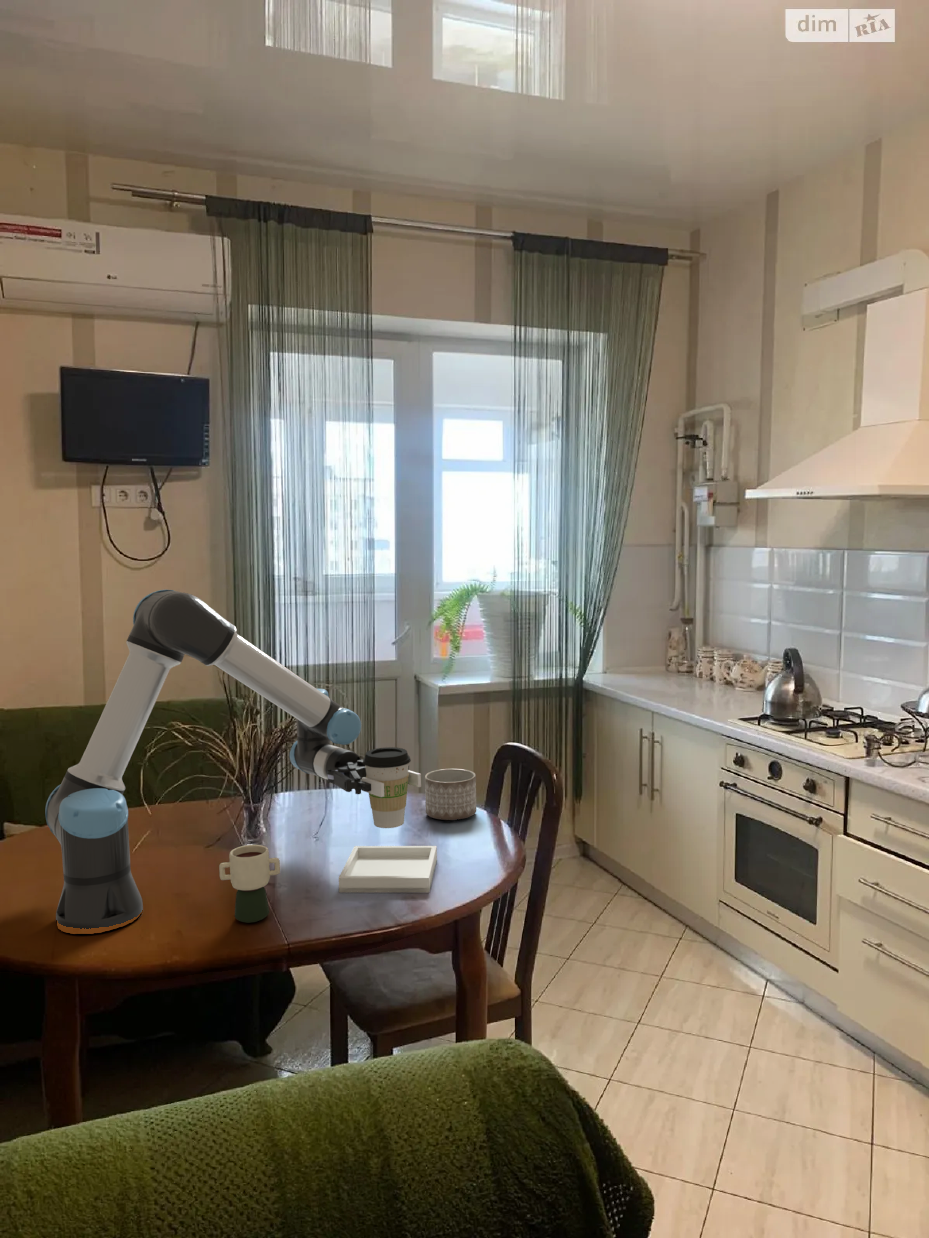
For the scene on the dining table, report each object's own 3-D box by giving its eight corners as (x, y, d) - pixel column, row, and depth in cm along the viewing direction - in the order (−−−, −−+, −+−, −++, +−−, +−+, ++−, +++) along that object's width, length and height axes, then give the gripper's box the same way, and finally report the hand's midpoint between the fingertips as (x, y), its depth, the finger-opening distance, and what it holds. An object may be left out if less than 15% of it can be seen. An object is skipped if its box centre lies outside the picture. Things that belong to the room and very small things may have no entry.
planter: (415, 816, 225) (414, 775, 224) (452, 804, 234) (451, 765, 233) (449, 827, 216) (448, 785, 215) (486, 815, 225) (486, 774, 224)
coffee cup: (379, 834, 179) (376, 761, 177) (356, 821, 187) (354, 751, 186) (421, 824, 184) (419, 753, 183) (398, 812, 192) (395, 744, 191)
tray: (429, 892, 177) (428, 877, 177) (339, 892, 178) (338, 877, 178) (437, 859, 195) (436, 845, 195) (355, 859, 196) (354, 846, 196)
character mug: (281, 907, 172) (278, 841, 170) (282, 923, 165) (279, 854, 164) (223, 913, 170) (219, 847, 168) (220, 929, 163) (217, 860, 161)
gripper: (378, 772, 206) (442, 791, 189) (297, 792, 191) (358, 815, 175) (377, 740, 205) (441, 757, 188) (295, 757, 191) (356, 777, 174)
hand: (401, 785), depth 181 cm, fingers closed on coffee cup, 9 cm apart
